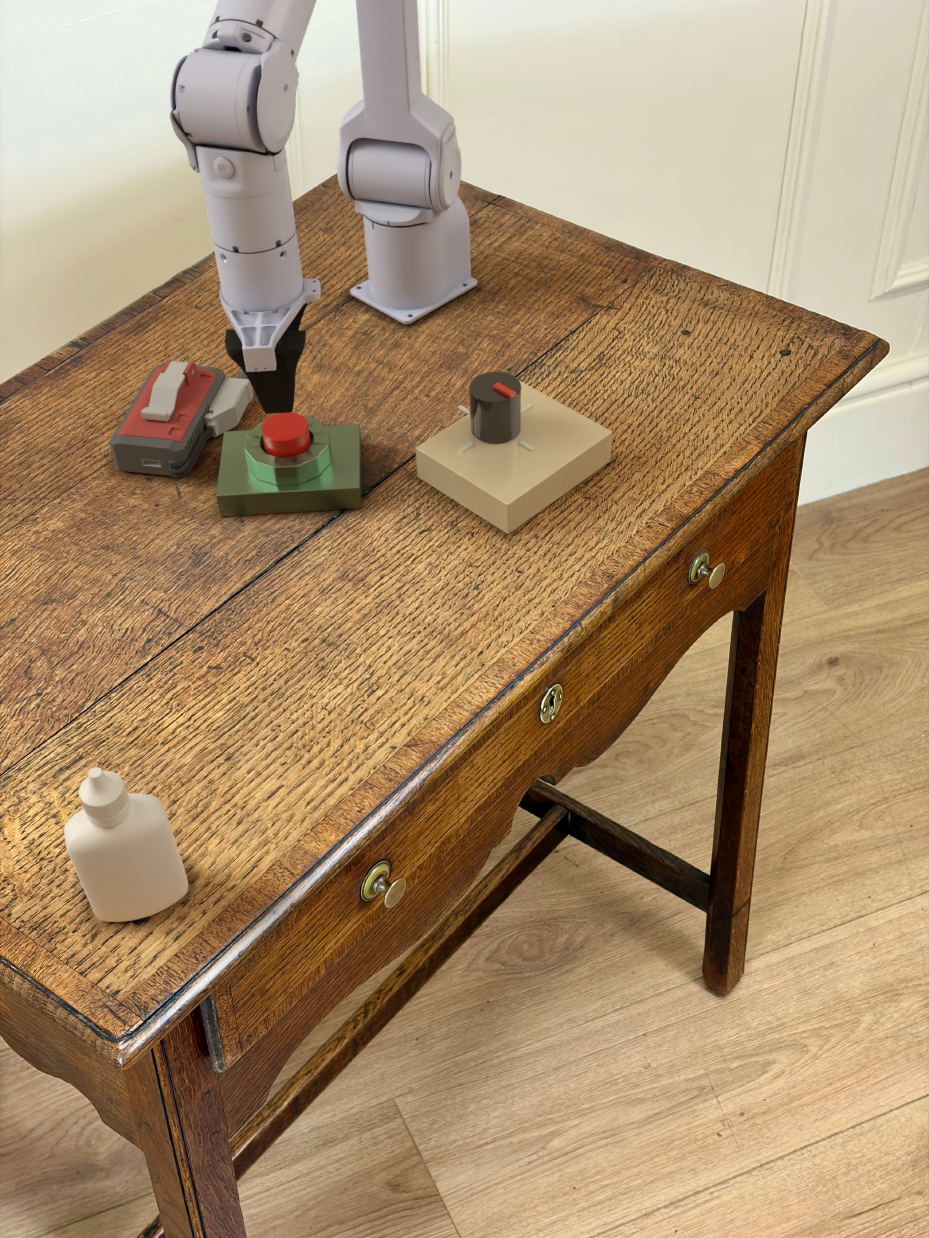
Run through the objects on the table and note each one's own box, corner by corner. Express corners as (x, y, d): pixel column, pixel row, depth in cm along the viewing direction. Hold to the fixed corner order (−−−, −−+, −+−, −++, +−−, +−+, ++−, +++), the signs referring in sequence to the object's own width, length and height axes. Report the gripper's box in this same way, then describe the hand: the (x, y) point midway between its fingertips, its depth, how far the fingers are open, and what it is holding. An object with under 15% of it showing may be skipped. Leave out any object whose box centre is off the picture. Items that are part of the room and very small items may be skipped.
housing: (361, 444, 107) (357, 405, 104) (362, 508, 101) (357, 469, 98) (227, 452, 107) (219, 413, 104) (220, 517, 101) (212, 477, 98)
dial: (460, 428, 103) (458, 384, 100) (495, 406, 105) (494, 361, 102) (496, 450, 101) (495, 405, 98) (531, 427, 103) (532, 382, 100)
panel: (510, 404, 110) (510, 373, 108) (610, 461, 104) (613, 429, 102) (407, 471, 104) (405, 439, 102) (507, 534, 99) (507, 503, 96)
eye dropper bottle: (109, 858, 79) (60, 734, 71) (198, 869, 79) (159, 745, 70) (83, 921, 76) (28, 799, 68) (175, 933, 76) (132, 811, 67)
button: (311, 428, 103) (308, 410, 101) (310, 457, 100) (307, 439, 99) (265, 431, 102) (262, 413, 101) (263, 460, 100) (260, 442, 99)
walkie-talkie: (209, 492, 103) (280, 348, 117) (199, 448, 100) (274, 306, 114) (105, 481, 104) (187, 340, 118) (92, 437, 101) (178, 298, 115)
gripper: (309, 286, 83) (331, 453, 93) (315, 177, 93) (334, 338, 103) (199, 292, 83) (232, 459, 93) (217, 183, 93) (245, 343, 103)
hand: (279, 396), depth 98 cm, fingers open, 3 cm apart
